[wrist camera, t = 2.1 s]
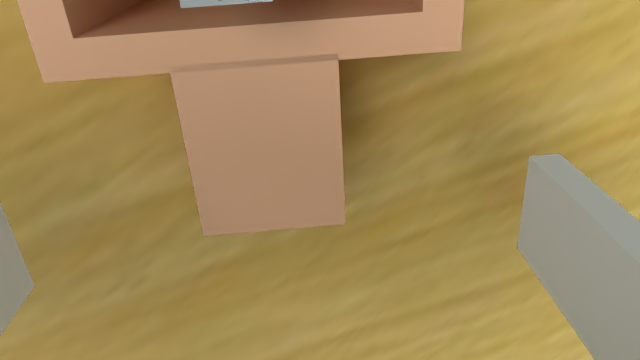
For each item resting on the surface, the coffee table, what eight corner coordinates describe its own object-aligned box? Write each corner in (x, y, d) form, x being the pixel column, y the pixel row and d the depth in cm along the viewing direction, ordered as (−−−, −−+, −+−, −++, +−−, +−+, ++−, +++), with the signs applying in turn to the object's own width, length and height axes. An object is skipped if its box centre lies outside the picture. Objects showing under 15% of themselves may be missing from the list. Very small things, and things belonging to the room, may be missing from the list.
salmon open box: (151, 151, 25) (96, 245, 17) (77, -157, 19) (-50, -204, 12) (402, 130, 25) (449, 215, 18) (407, -179, 19) (480, -237, 12)
